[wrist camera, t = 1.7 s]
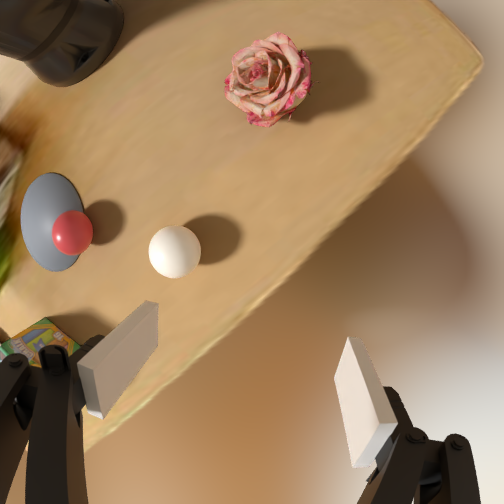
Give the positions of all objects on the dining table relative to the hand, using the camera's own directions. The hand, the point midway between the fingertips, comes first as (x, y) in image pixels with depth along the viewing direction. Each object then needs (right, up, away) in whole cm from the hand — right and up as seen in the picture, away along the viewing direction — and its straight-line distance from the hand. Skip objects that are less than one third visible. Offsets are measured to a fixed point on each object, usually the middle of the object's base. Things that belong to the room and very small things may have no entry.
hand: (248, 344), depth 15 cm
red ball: (-22, +7, +16) cm, 28 cm away
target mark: (-28, +9, +19) cm, 35 cm away
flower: (+2, +22, +13) cm, 26 cm away
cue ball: (-8, +5, +15) cm, 18 cm away
